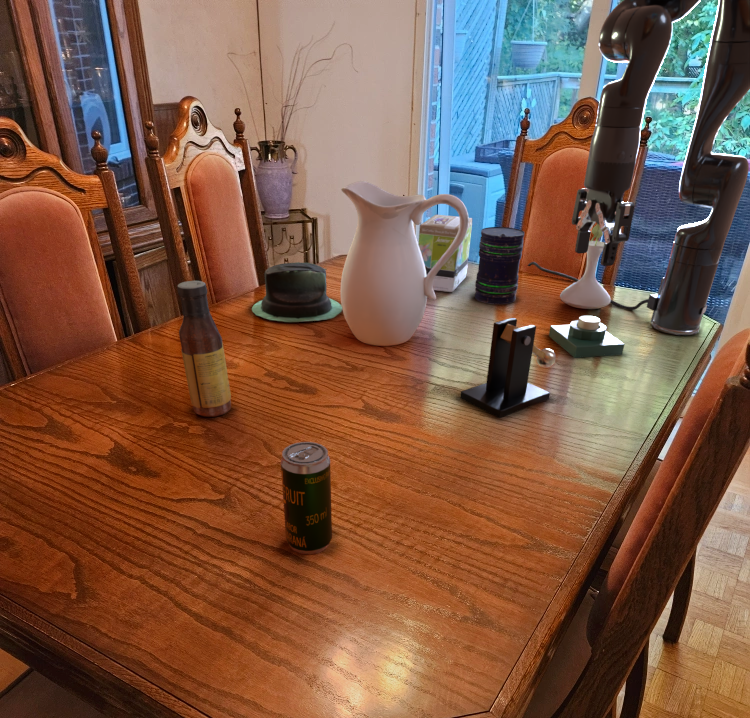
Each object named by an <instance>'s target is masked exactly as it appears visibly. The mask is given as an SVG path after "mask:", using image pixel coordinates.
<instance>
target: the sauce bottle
mask: <svg viewBox="0 0 750 718" xmlns="http://www.w3.org/2000/svg"><path fill="white" fill-rule="evenodd" d="M176 287H177V294H178V296H179V297H180V302H181V307H182V308H181V309H182V316H183V317H182V323H181V325H180V328H179V330H178V336H179V341H180V347H181V348H180V349H181V351H180V352H181V357H182V361H183V366H184V372H185V377H186V383H187V387H188V388H187V389H188V394H189V398H190V403H191V405H192V409H193V412H194V413H195V414H196V415H198V416H201V417H204V418H214V417H220V416H222V415H225V414H226V413H229V411H230V410H231V409H232V393H231V387H230V386H231V385H230V380H229V373H228V368H227V367H228V366H227V361H226V356H225V347H224V341H223V338H222V335H221V333H220V331H219V329H218V327H217V325H216V322H215V320H214V318H213V316H212V313H211V311H210V307H209V303H208V296H207V295H208V288H207V284H206V282H204V281H201V280H187V281H183V282H180V283H178V284H177V286H176Z"/></svg>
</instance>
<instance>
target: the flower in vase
mask: <svg viewBox="0 0 750 718" xmlns="http://www.w3.org/2000/svg"><path fill="white" fill-rule="evenodd" d="M582 212H583V211H581V213H582ZM591 234H592V235H593V237H592V238H591V239H590V240H589V246H588V251H587V252H586V265H585V270H584V273H583V275H582V276H581V278H580V279H578V281H577V282H575V281H574V282H573V283H572V284H570V285H569V286H567V287H566V288H564V289H563V290H562V291H561V292H560V295H559V298H560V301H561V302H562V303H564V304H566V305H568V306H570V307H573V308H577V309H583V310H597V309H598V310H599V309H602V308H605V307H607V306H608V305H609V304H611V303H610V302H611V300H612V299H611V295H610V294H609V293H608V292H607V291H608V290H606V289H605V287H604V286H602V285H601V284H600V282H599V281H598V280H597V277H596V272H597V267H598V262H599V259H600V256H601V255H602V253H603V248H604V243H605V241H600V240H599V239H600V238H601V237H602V236H604V232H603V231H601V229H600V225H599V224H597V223H596V225H594V226H593V227H592V228H591ZM594 239H595V240H594Z"/></svg>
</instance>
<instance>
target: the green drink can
mask: <svg viewBox="0 0 750 718" xmlns="http://www.w3.org/2000/svg"><path fill="white" fill-rule="evenodd" d="M281 452H282V453H281V459H280V474H281V489H282V501H283V515H284V529H285V541H286V542H287V545H288V546H289V548H290V549H291V550H292V551H294V552H295V553H298V554H301V555H315V554H319V553H321V552H323V551H325V550H326V549H327V548H328V547H329V545H330V543H331V542H332V540H333V520H332V518H333V517H332V486H331V485H332V481H331V480H332V479H331V477H332V476H331V474H332V473H331V458H330V456H329V451H328V448H327V447H326V446H324V445H323V444H321V443H318V442H313V441H300V442H295V443H292V444H289V445H287V446H286V447H284V449H283V450H282V451H281Z"/></svg>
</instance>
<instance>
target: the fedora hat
mask: <svg viewBox="0 0 750 718" xmlns="http://www.w3.org/2000/svg"><path fill="white" fill-rule="evenodd" d="M327 270H328V269H327V268H324V267H322V266H320V265H318V264H315V263H311V262H299V261H298V262H285V263H279V264H274V265H272V266H270V267H268V268H267V269H266V270H265V271H264V273H263V275H264V285H265V286H264V287H265V296H264V297H263V298H262V299H261V300H259V301H257V302H256V303H254V304H253V306H252V307H251V312H252V313H253V314H254V315H255V316H257V317H261V318H263V319H266V320H269V321H277V322H284V323H299V322H313V321H314V322H315V321H325V320H331V319H334V318H335V317H337V316H338V315H340V314H341V313H342V312H343V310H342V304H341V303H339V302H338V301H337V300H335V299H332V298H330V297H329V296H328V295H327V287H328V286H327Z"/></svg>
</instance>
